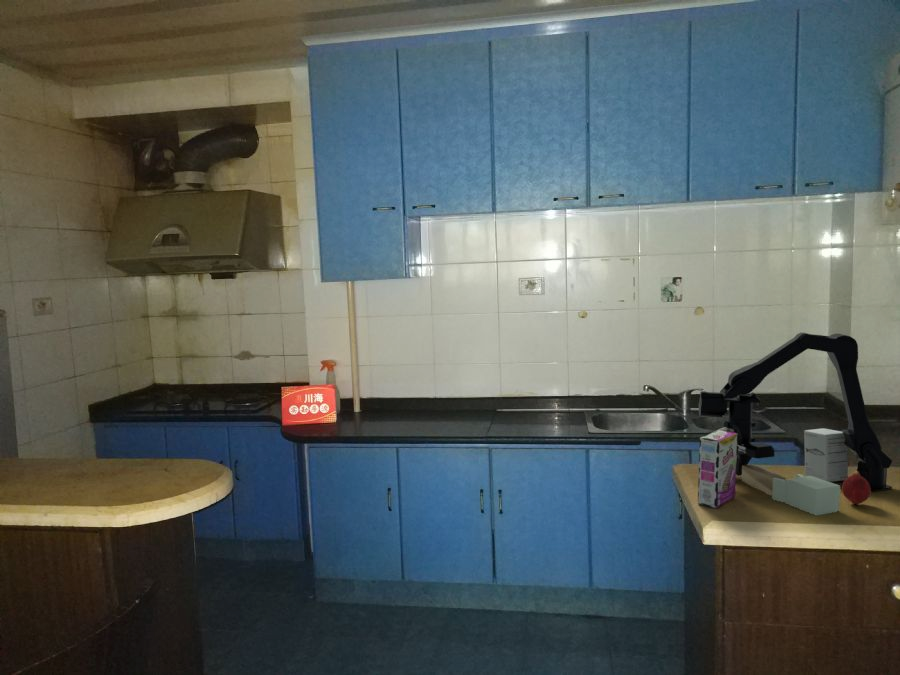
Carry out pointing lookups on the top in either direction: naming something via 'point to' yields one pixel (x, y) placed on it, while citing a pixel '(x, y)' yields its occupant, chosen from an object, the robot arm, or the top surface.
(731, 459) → the candy bar box
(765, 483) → the oak slat
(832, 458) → the supplement box
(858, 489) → the onion
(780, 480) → the forked bracket
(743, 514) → the top surface
